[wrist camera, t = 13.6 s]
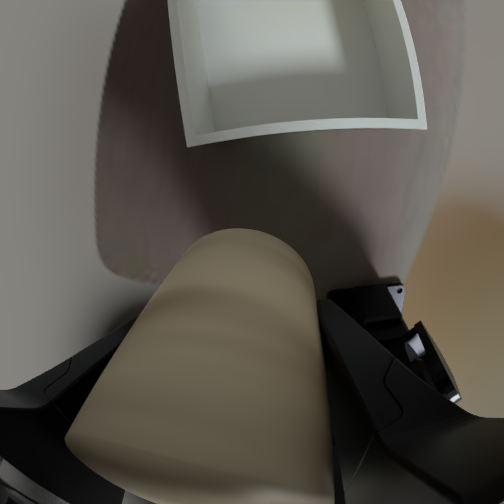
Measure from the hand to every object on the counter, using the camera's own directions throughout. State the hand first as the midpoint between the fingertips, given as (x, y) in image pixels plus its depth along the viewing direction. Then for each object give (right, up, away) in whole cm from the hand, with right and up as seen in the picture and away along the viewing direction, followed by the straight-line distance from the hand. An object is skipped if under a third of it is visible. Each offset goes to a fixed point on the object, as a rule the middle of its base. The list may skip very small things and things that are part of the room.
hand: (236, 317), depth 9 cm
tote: (+3, +17, +5) cm, 18 cm away
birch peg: (0, 0, +1) cm, 1 cm away
